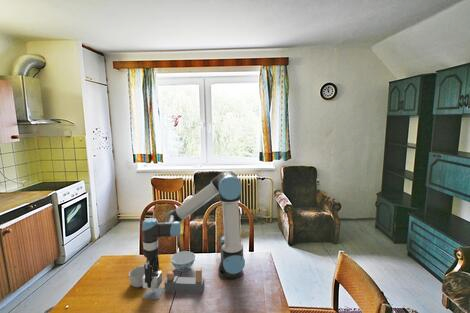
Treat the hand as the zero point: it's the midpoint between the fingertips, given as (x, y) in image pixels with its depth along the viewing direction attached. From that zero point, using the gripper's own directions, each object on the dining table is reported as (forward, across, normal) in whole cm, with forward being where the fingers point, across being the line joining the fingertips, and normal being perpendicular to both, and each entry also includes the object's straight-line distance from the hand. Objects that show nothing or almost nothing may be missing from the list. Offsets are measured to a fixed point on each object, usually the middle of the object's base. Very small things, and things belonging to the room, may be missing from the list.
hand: (153, 287), depth 139 cm
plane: (+3, -5, +16) cm, 17 cm away
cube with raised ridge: (-2, 0, 0) cm, 2 cm away
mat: (+4, 0, 0) cm, 4 cm away
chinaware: (+4, -24, +10) cm, 26 cm away
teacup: (+4, -9, -11) cm, 15 cm away
